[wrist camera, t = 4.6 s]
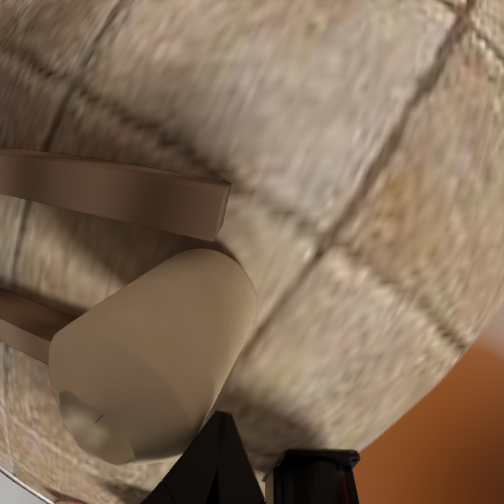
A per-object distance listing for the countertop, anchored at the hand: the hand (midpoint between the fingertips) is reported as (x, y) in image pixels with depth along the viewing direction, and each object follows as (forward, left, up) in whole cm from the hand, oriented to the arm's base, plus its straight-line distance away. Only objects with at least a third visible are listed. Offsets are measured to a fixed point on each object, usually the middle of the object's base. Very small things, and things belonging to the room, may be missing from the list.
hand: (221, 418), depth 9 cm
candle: (+2, 0, -8) cm, 8 cm away
